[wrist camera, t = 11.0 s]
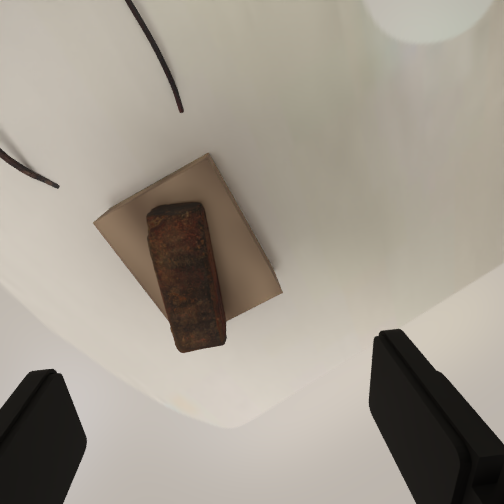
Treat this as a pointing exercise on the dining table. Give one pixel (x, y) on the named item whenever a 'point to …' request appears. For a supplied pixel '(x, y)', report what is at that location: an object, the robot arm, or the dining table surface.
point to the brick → (187, 275)
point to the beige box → (220, 228)
